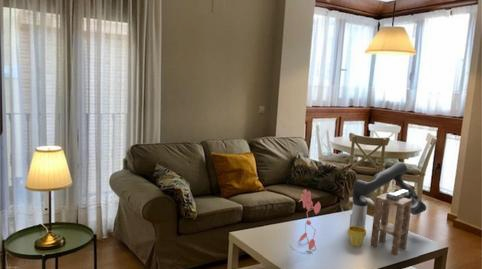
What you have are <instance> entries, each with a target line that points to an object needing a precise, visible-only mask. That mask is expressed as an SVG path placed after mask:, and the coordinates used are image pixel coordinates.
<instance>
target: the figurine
mask: <svg viewBox="0 0 482 269" xmlns="http://www.w3.org/2000/svg"><path fill="white" fill-rule="evenodd" d="M302 191H303V193H301V195H300V197H301V198H300V200H299V201H298V203H300V202H301V201H302V208H303V209H306V210H307V211H306V217H307V220H306V222H305V227H304V228H305V229H304V233H303V234H302V235H301V236H300V237H299V239H298V242H301V241H303V240H304V239H305V238H306V239H307V242H308V243H307V244H308V250H309V251H311V250H312V249H313V248H315V250H316V249H317V246H316V241H315V239H314V238H315V234H316V229H315V228H314V227H313V226H312V225H311V223H312V222H311V220H309V215H308V214H309V212H310V211H312V210H313V211H314V214H315V215H317V214H319V213H320V211H321V207H322V206H321V203H320V201H317V203H315V205H314V203H313V201H312V196H311V195H312V193H311V191H310V190H307V189H303V190H302ZM307 226H310V227H311V228H312V229H313V230H314V232H313V236H312V238H311V239H310V240H309V238H308V236H307V235H308V233H307V232H306V231H307ZM303 254H305V255H306V253H304V252H303Z"/></svg>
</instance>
